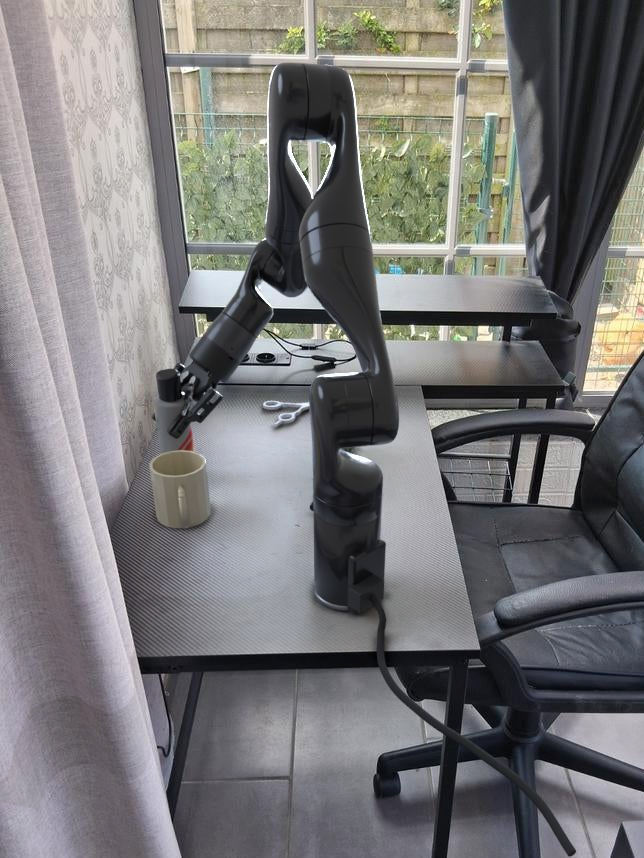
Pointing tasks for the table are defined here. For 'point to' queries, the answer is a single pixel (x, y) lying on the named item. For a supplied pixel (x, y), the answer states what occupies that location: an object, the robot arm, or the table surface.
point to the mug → (180, 488)
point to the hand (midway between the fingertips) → (164, 428)
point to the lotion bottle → (170, 412)
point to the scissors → (279, 404)
